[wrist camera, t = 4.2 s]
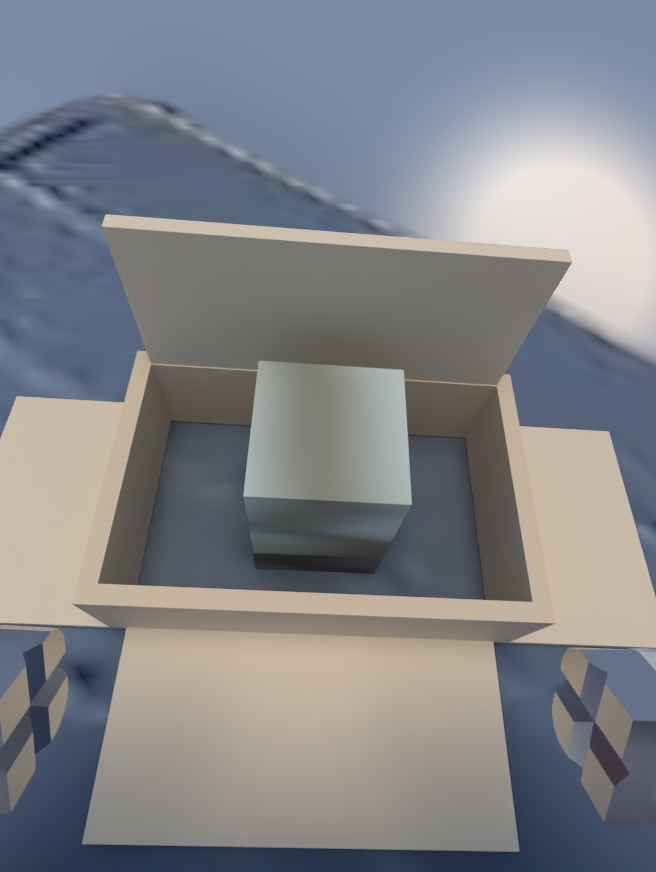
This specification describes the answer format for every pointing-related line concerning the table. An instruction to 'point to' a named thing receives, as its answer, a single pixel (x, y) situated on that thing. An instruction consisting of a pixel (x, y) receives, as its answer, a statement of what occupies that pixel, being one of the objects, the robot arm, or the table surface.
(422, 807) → the carton
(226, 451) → the table surface
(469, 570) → the table surface
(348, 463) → the box
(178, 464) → the table surface
